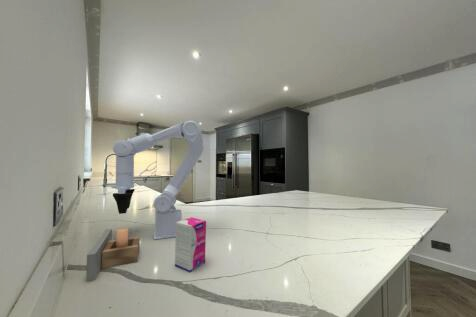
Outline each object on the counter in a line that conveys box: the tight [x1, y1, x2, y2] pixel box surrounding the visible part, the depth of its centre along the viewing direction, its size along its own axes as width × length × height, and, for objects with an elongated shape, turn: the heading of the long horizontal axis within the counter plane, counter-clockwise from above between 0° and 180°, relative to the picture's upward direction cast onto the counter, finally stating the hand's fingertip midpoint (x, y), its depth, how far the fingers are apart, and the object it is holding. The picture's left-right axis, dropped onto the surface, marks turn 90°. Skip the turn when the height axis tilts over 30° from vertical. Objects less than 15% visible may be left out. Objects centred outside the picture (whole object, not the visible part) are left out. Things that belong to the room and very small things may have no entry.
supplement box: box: [174, 217, 207, 273], centre depth 50 cm, size 6×6×12 cm
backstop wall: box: [85, 228, 113, 282], centre depth 51 cm, size 2×18×6 cm, turn 24°
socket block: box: [101, 236, 141, 269], centre depth 53 cm, size 8×8×4 cm
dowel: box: [116, 227, 129, 248], centre depth 53 cm, size 3×3×8 cm
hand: (124, 210), depth 69 cm, fingers open, 7 cm apart
